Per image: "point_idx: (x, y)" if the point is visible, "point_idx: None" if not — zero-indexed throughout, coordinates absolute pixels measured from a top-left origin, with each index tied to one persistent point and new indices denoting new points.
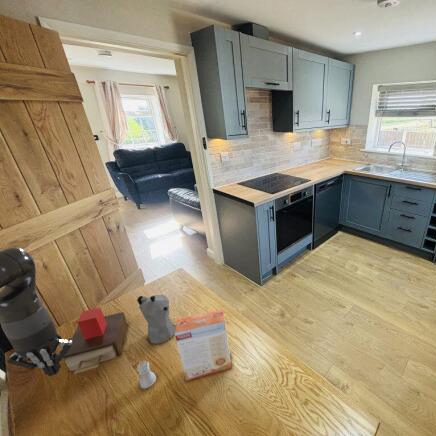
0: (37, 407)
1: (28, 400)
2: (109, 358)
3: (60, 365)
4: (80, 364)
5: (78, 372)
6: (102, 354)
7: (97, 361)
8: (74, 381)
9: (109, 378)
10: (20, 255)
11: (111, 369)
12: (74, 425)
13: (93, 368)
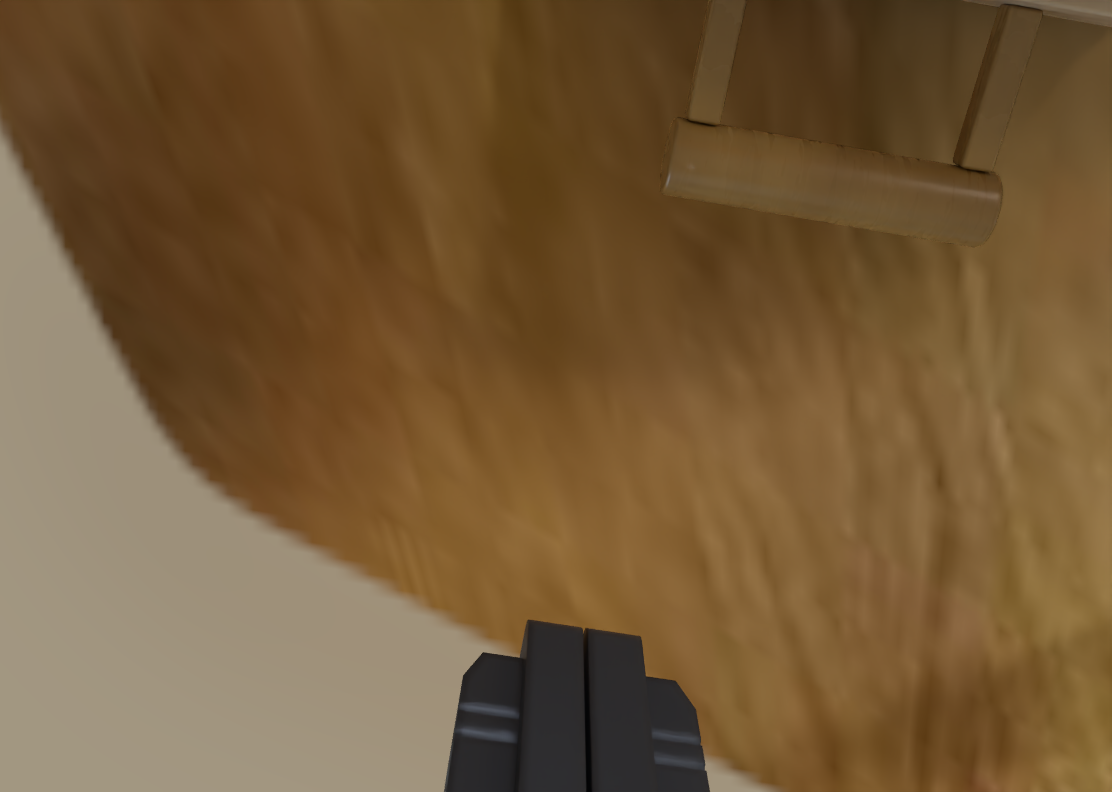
0: (267, 290)
1: (125, 121)
2: (1075, 20)
3: (695, 715)
4: (732, 48)
5: (710, 200)
6: (1067, 13)
7: (978, 140)
8: (598, 124)
9: (994, 328)
10: None
11: (1035, 189)
12: None
13: (904, 234)
